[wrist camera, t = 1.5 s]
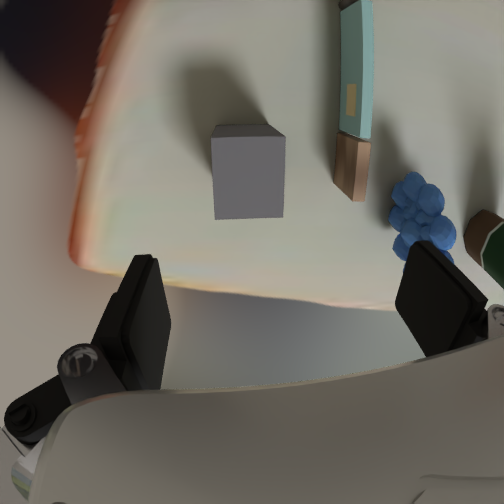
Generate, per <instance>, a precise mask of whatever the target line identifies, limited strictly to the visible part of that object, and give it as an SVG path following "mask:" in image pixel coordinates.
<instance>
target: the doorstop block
mask: <svg viewBox="0 0 504 504" xmlns="http://www.w3.org/2000/svg"><path fill="white" fill-rule="evenodd" d="M285 138H286V137H285V136H284V135H283V134H281V133H280V132H279V131H277V130H276V129H275V128H273V127H272V126H271V125H269V124H246V125H217V126H216V128H215V130H214V132H213V134H212V137H211V154H212V176H213V195H214V212H215V220H220V219H247V218H280V217H283V207H284V177H285Z"/></svg>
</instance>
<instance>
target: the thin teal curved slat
mask: <svg viewBox="0 0 504 504" xmlns="http://www.w3.org/2000/svg"><path fill="white" fill-rule="evenodd" d="M340 17H341V94H340V119H339V130H342V131H344V132H347V133H350V134H352V135H355V136H357V137H360V138H370V136H371V122H372V105H373V79H374V33H373V8H372V1H368V0H359V1H357V2H355V3H354V4H352V5H350V6H349V7H347V8H346V9H344V10H342V11H341V12H340Z"/></svg>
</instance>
